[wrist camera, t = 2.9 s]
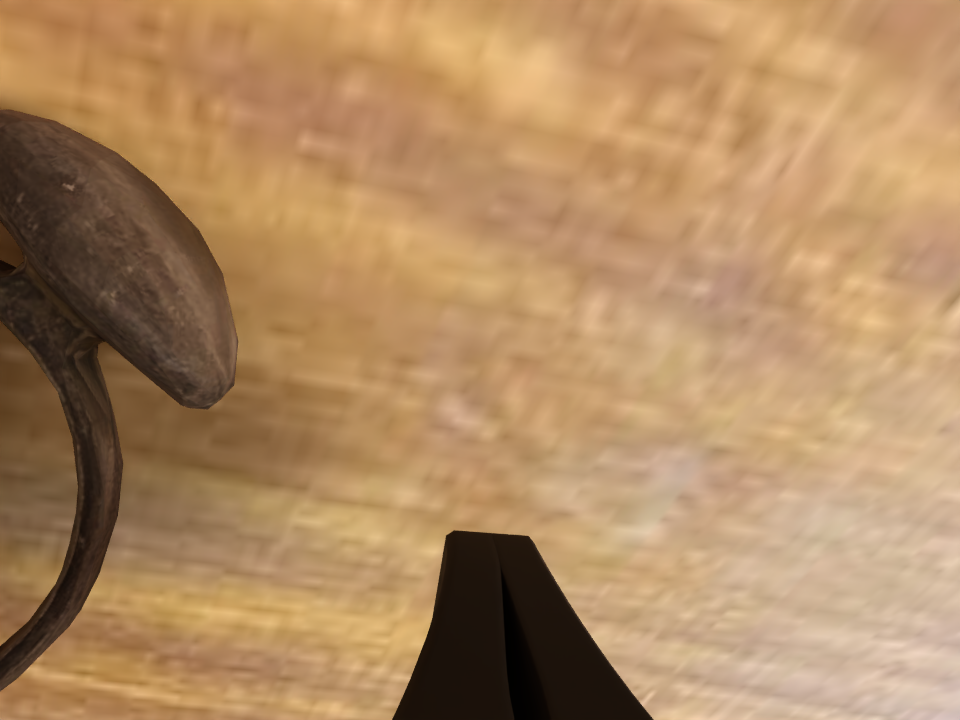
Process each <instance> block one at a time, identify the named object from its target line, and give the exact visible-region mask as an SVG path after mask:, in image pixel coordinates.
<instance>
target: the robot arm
mask: <svg viewBox="0 0 960 720" xmlns="http://www.w3.org/2000/svg"><path fill="white" fill-rule="evenodd" d="M392 720H653V718H652V717H651V716H650V715H649V714H648V712H647V711H646V710H645V709H644V707H643V706H642V705H641V704H640V702H639V701H638V700H637V699H636V697H635V696H634V695H633V694H632V692H631V691H630V690H629V688H628V687H627V686H626V684H625V683H624V682H623V680H622V679H621V678H620V676H619V675H618V674H617V672H616V671H615V670H614V668H613V667H612V666H611V664H610V663H609V661H608V660H607V659H606V657H605V656H604V654H603V653H602V652H601V650H600V649H599V647H598V646H597V644H596V643H595V641H594V640H593V638H592V637H591V635H590V634H589V633H588V631H587V630H586V628H585V627H584V625H583V624H582V622H581V621H580V619H579V618H578V616H577V615H576V613H575V611H574V610H573V608H572V607H571V605H570V604H569V602H568V600H567V599H566V597H565V596H564V594H563V592H562V591H561V589H560V587H559V586H558V584H557V582H556V581H555V579H554V577H553V576H552V574H551V572H550V571H549V569H548V567H547V565H546V564H545V562H544V560H543V558H542V557H541V555H540V553H539V551H538V550H537V548H536V546H535V544H534V542H533V541H532V540H531V539H530V537H529V536H522V535H508V534H495V533H481V532H468V531H453V532H451V533H450V534H448V535H446V540H445V546H444V552H443V558H442V564H441V570H440V576H439V582H438V588H437V594H436V600H435V606H434V612H433V618H432V622H431V625H430V628H429V631H428V634H427V637H426V640H425V642H424V645H423V648H422V650H421V653H420V655H419V658H418V661H417V663H416V666H415V668H414V671H413V674H412V676H411V679H410V681H409V683H408V686H407V688H406V690H405V693H404V695H403V697H402V700H401V702H400V704H399V706H398V708H397V711H396V713H395V715H394V717H393V719H392Z"/></svg>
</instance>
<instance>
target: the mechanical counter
mask: <svg viewBox="0 0 960 720" xmlns="http://www.w3.org/2000/svg"><path fill="white" fill-rule="evenodd" d="M0 220H1V222H2V223H3V225H4V226H5V227H6V229H7V230H8V231H9V233H10V234H11V235H12V237H13V238H14V240H15V241H16V243H17V244H18V245H19V247H20V248H21V250H22V253H23V259H24V262H23V263H22V264H21V265H20V266H18V267H17V268H16V267H14V266H12V265H9V264H7V263H5V262H3V261H1V260H0V320H1V321H2V322H3V324H4V325H5V326H6V327H7V328H8V329H9V330H10V331H11V332H12V333H13V334H14V335H15V336H16V337H17V338H18V339H19V341H20V342H21V343H22V344H23V345H24V346H25V347H26V348H27V349H28V350H29V351H30V352H31V354H32V355H33V357H34V358H35V360H36V361H37V363H38V364H39V365H40V367H41V368H42V370H43V371H44V373H45V374H46V376H47V377H48V379H49V380H50V382H51V383H52V384H53V386H54V387H55V389H56V390H57V392H58V394H59V397H60V401H61V404H62V407H63V410H64V413H65V416H66V419H67V422H68V425H69V429H70V432H71V435H72V438H73V447H74V455H75V464H76V472H77V481H78V495H77V509H76V516H75V520H74V525H73V530H72V534H71V539H70V544H69V547H68V551H67V554H66V558H65V561H64V565H63V568H62V571H61V573H60V575H59V578H58V580H57V582H56V584H55V586H54V587H53V588H52V590H51V591H50V593H49V594H48V595H47V597H46V598H45V600H44V601H43V602H42V604H41V605H40V606H39V608H38V609H37V611H36V612H35V613H34V615H33V616H32V617H31V619H30V620H29V621H28V622H27V623H26V624H25V625H24V626H23V627H22V628H20V629H19V630H18V631H17V632H16V633H15V634H14V635H13V636H11V637H10V638H9V639H8V640H7V641H6V642H5V643H3V644H2V645H1V646H0V691H1V690H3V689H4V688H5V687H7V686H8V685H9V684H11V683H12V682H13V681H14V680H16V679H17V678H18V677H19V676H20V675H21V674H22V673H23V672H24V671H25V670H26V669H27V668H28V667H29V666H30V665H31V664H32V663H33V662H34V661H35V660H36V659H37V658H38V657H39V656H40V655H41V654H42V653H43V652H44V651H45V650H46V649H47V648H48V647H49V646H50V645H51V644H52V643H53V642H54V641H55V640H56V639H57V638H58V637H59V636H60V635H61V634H62V633H63V632H64V631H65V630H66V629H67V628H68V627H69V626H70V624H71V623H72V622H73V620H74V619H75V617H76V616H77V614H78V613H79V612H80V610H81V609H82V607H83V605H84V603H85V601H86V599H87V597H88V595H89V593H90V591H91V589H92V587H93V585H94V583H95V581H96V579H97V577H98V575H99V573H100V570H101V566H102V563H103V560H104V557H105V554H106V551H107V548H108V545H109V541H110V538H111V535H112V532H113V529H114V526H115V523H116V520H117V516H118V509H119V499H120V489H121V480H122V470H123V460H122V454H121V448H120V443H119V437H118V432H117V427H116V422H115V417H114V412H113V408H112V405H111V401H110V398H109V394H108V391H107V387H106V383H105V380H104V377H103V374H102V371H101V367H100V364H99V361H98V358H97V353H98V344H100V343H101V342H103V341H106V342H107V343H109V344H110V345H111V346H112V347H113V348H114V349H115V350H117V351H118V352H119V353H120V354H121V355H122V356H123V357H125V358H126V359H127V360H128V361H129V362H130V363H131V364H133V365H134V366H135V367H136V368H137V369H138V370H140V371H141V372H142V373H143V374H144V375H146V376H147V377H148V378H149V379H150V380H152V381H153V382H154V383H155V384H156V385H158V386H159V387H160V388H161V389H162V390H164V391H165V392H166V393H167V394H168V395H170V396H171V397H172V398H173V399H174V400H176V401H177V402H178V403H179V404H180V405H182V406H185V407H188V408H196V409H209V408H210V407H211V406H213V405H214V404H215V403H217V402H218V401H219V400H220V399H221V398H222V397H223V396H224V395H225V394H226V393H227V392H228V391H229V390H230V389H231V388H232V387H233V386H234V381H235V370H236V359H237V348H238V338H237V334H236V330H235V325H234V321H233V316H232V312H231V308H230V303H229V299H228V295H227V290H226V286H225V282H224V277H223V274H222V272H221V270H220V268H219V266H218V264H217V263H216V261H215V259H214V257H213V255H212V253H211V252H210V250H209V248H208V246H207V244H206V242H205V241H204V239H203V237H202V235H201V233H200V231H199V230H198V229H197V228H196V227H195V225H194V224H193V223H192V222H191V221H190V220H189V219H188V218H187V217H186V216H185V215H184V214H183V213H182V211H181V210H180V209H179V208H178V207H177V206H176V205H175V204H174V203H173V202H172V201H171V200H170V198H169V197H168V196H167V195H166V194H165V193H164V192H163V191H162V190H161V189H160V188H159V187H158V186H157V184H155V183H154V182H153V181H152V180H150V179H149V178H148V177H147V176H145V175H144V174H143V173H142V172H140V171H139V170H138V169H137V168H135V167H134V166H133V165H131V164H130V163H129V162H128V161H126V160H125V159H124V158H123V157H121V156H120V155H119V154H118V153H116V152H114V151H112V150H110V149H108V148H107V147H105V146H103V145H101V144H99V143H97V142H95V141H93V140H91V139H89V138H87V137H85V136H83V135H82V134H80V133H78V132H76V131H74V130H72V129H70V128H68V127H66V126H64V125H62V124H60V123H58V122H56V121H53V120H49V119H45V118H41V117H37V116H33V115H29V114H25V113H21V112H17V111H13V110H0Z"/></svg>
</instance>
